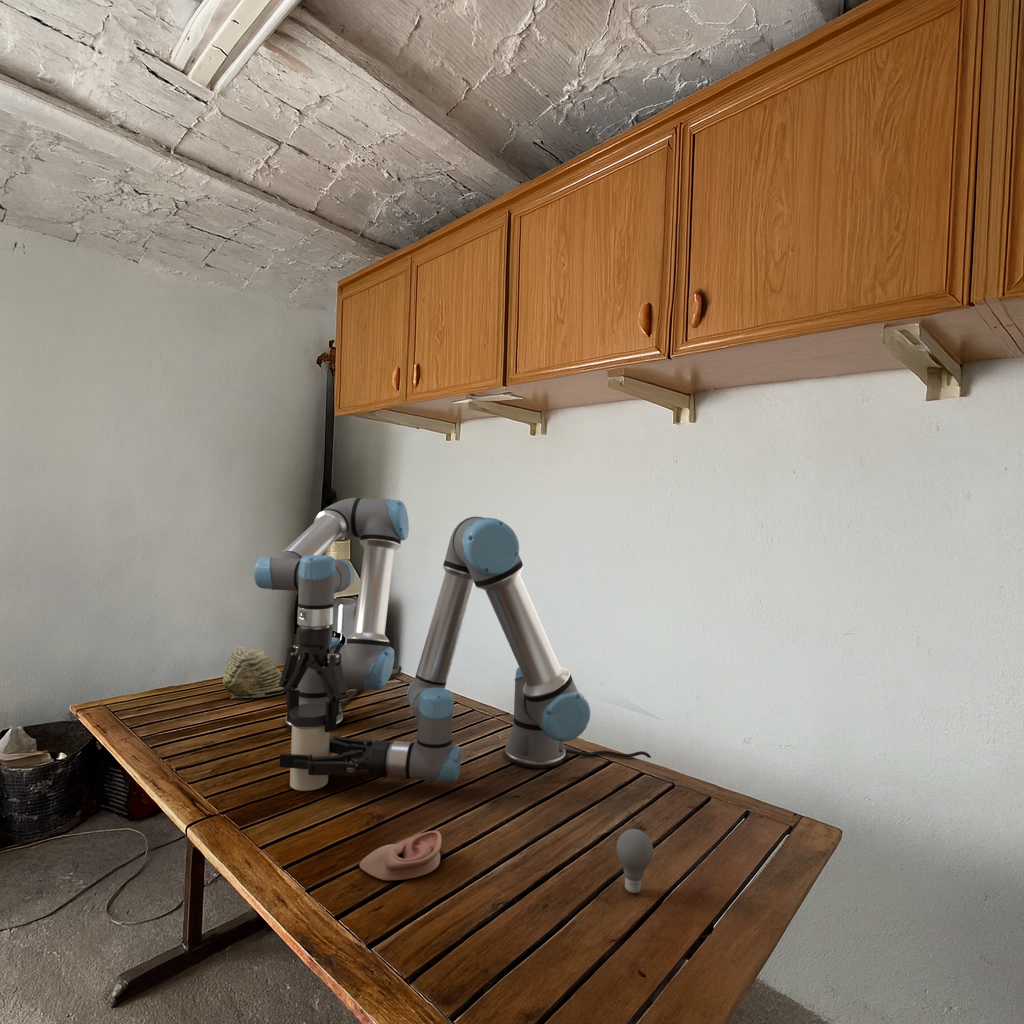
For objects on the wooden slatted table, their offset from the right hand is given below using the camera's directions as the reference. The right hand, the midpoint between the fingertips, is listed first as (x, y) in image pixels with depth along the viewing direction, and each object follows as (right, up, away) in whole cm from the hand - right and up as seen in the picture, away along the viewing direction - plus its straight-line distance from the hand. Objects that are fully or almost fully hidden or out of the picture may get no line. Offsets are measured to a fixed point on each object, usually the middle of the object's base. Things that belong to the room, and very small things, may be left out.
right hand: (289, 752), depth 140 cm
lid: (+5, +9, -1) cm, 11 cm away
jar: (+4, -7, 0) cm, 8 cm away
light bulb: (+69, -10, -35) cm, 78 cm away
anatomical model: (+30, -8, -30) cm, 43 cm away
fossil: (-31, -4, +58) cm, 66 cm away
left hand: (+5, +6, 0) cm, 8 cm away
